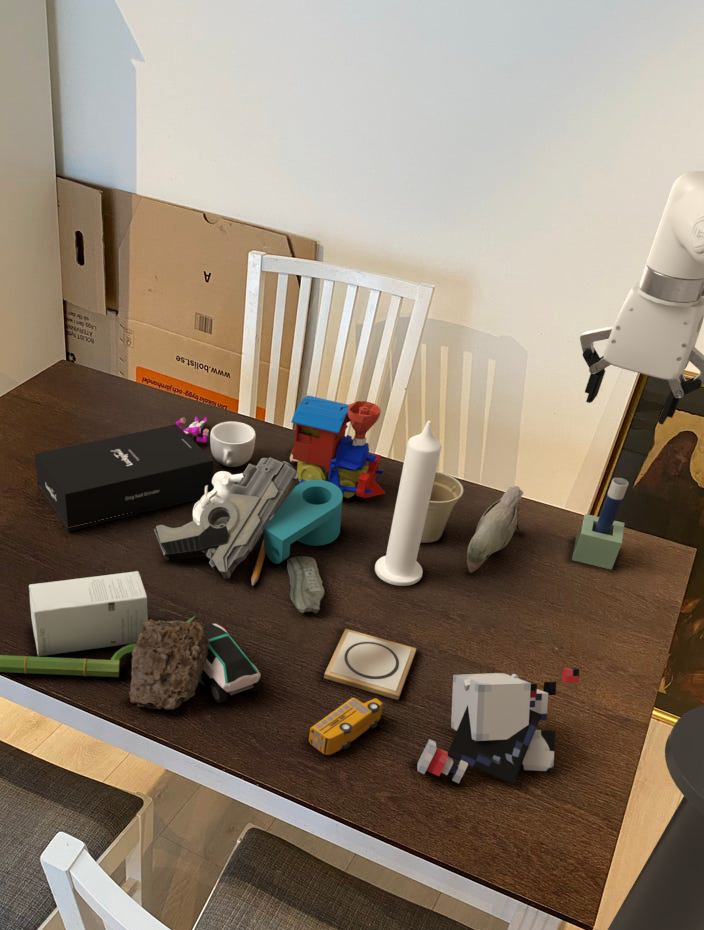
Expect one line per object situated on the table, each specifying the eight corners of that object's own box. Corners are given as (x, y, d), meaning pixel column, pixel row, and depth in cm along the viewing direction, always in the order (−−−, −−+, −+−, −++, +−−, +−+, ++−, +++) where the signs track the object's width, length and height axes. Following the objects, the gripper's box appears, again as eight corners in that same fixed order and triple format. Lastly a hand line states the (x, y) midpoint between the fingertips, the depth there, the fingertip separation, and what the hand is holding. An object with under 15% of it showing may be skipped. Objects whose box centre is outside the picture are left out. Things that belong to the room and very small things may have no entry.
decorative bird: (452, 567, 142) (463, 526, 137) (490, 520, 152) (501, 480, 148) (486, 580, 140) (498, 539, 135) (522, 531, 150) (534, 491, 145)
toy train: (303, 462, 163) (312, 381, 153) (392, 483, 159) (407, 402, 149) (283, 490, 156) (292, 408, 146) (376, 514, 152) (391, 430, 142)
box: (68, 531, 144) (65, 494, 140) (38, 489, 153) (34, 453, 149) (212, 496, 154) (213, 460, 149) (176, 458, 163) (176, 423, 158)
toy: (474, 622, 117) (589, 672, 115) (416, 744, 120) (526, 794, 118) (482, 636, 105) (610, 692, 103) (417, 771, 108) (539, 827, 107)
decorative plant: (-38, 659, 115) (206, 670, 116) (-27, 604, 120) (207, 615, 121) (-30, 684, 120) (204, 695, 122) (-20, 631, 125) (205, 641, 126)
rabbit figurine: (220, 500, 153) (222, 447, 147) (260, 514, 150) (265, 461, 144) (180, 534, 145) (181, 480, 139) (222, 551, 142) (225, 496, 136)
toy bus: (386, 702, 115) (362, 687, 117) (334, 742, 110) (309, 725, 112) (383, 721, 117) (359, 705, 119) (331, 761, 112) (307, 744, 114)
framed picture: (415, 652, 127) (417, 647, 126) (398, 700, 120) (399, 694, 119) (344, 632, 129) (345, 627, 129) (323, 678, 122) (324, 672, 122)
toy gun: (142, 542, 139) (225, 585, 134) (216, 428, 142) (300, 465, 137) (149, 552, 142) (231, 594, 137) (221, 440, 145) (304, 477, 140)
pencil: (272, 519, 150) (250, 590, 136) (270, 514, 150) (247, 584, 136) (278, 517, 150) (256, 588, 136) (275, 512, 149) (253, 583, 135)
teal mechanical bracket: (353, 495, 142) (316, 473, 146) (282, 540, 136) (245, 516, 140) (350, 529, 147) (314, 507, 151) (281, 574, 140) (246, 550, 144)
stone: (328, 603, 130) (293, 607, 130) (328, 615, 131) (293, 618, 131) (315, 554, 140) (282, 557, 140) (315, 565, 141) (282, 569, 141)
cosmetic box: (149, 641, 126) (39, 662, 123) (139, 612, 130) (32, 631, 127) (148, 594, 120) (31, 614, 117) (137, 565, 125) (24, 584, 121)
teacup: (215, 446, 166) (216, 418, 162) (257, 452, 165) (259, 425, 161) (201, 474, 159) (202, 446, 155) (246, 481, 158) (248, 453, 154)
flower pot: (417, 509, 154) (427, 462, 148) (463, 534, 149) (476, 488, 143) (380, 529, 149) (388, 482, 143) (427, 556, 144) (437, 509, 138)
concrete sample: (204, 614, 114) (209, 616, 119) (122, 618, 116) (131, 620, 121) (208, 708, 114) (213, 706, 119) (126, 711, 115) (135, 710, 120)
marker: (601, 552, 147) (629, 479, 138) (600, 560, 145) (628, 487, 137) (586, 548, 147) (613, 476, 139) (585, 556, 146) (611, 483, 137)
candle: (421, 589, 138) (457, 437, 121) (373, 583, 138) (402, 430, 122) (421, 561, 143) (455, 411, 126) (375, 555, 144) (403, 405, 127)
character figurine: (187, 427, 173) (164, 450, 163) (189, 400, 170) (166, 422, 160) (216, 433, 172) (195, 457, 162) (219, 407, 169) (198, 430, 159)
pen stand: (614, 549, 148) (624, 522, 144) (611, 570, 143) (622, 543, 140) (575, 539, 149) (584, 513, 146) (571, 560, 145) (581, 533, 142)
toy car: (221, 710, 117) (223, 679, 114) (178, 651, 125) (179, 621, 121) (261, 695, 119) (265, 665, 116) (217, 639, 127) (219, 608, 124)
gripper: (751, 291, 115) (697, 417, 126) (610, 258, 122) (572, 381, 133) (740, 311, 110) (685, 440, 122) (594, 275, 117) (555, 401, 128)
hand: (626, 409), depth 127 cm, fingers open, 9 cm apart
